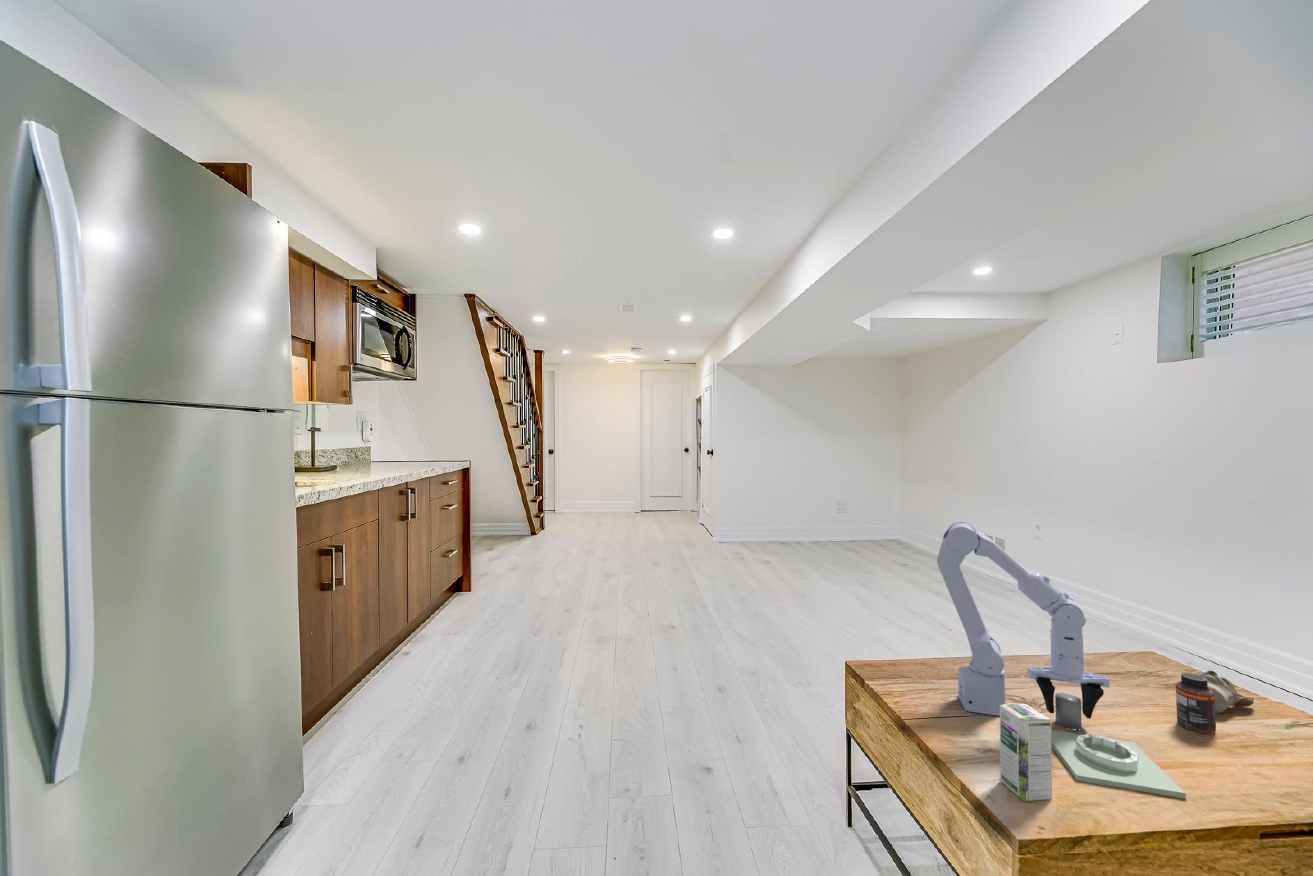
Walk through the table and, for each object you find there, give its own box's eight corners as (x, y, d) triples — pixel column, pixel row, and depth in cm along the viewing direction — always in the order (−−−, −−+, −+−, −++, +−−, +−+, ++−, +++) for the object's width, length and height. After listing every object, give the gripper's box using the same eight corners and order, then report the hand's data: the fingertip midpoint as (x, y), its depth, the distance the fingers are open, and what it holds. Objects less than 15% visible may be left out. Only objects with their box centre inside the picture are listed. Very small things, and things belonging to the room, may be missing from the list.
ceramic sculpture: (1169, 666, 122) (1194, 658, 128) (1169, 702, 121) (1194, 692, 128) (1234, 685, 112) (1258, 675, 119) (1233, 724, 112) (1257, 712, 119)
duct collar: (1090, 767, 96) (1089, 757, 96) (1068, 741, 105) (1068, 731, 105) (1149, 776, 94) (1148, 766, 94) (1122, 749, 102) (1122, 739, 102)
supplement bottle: (1206, 723, 112) (1205, 673, 113) (1222, 738, 107) (1221, 684, 107) (1171, 718, 115) (1169, 668, 115) (1185, 731, 110) (1183, 679, 110)
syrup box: (998, 781, 94) (997, 703, 95) (1028, 778, 95) (1026, 702, 95) (1023, 802, 89) (1021, 720, 89) (1054, 800, 89) (1052, 718, 89)
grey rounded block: (1060, 728, 111) (1060, 701, 111) (1051, 717, 116) (1051, 691, 116) (1085, 731, 110) (1084, 704, 110) (1075, 720, 114) (1074, 694, 115)
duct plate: (1076, 780, 94) (1076, 775, 94) (1042, 733, 109) (1042, 729, 109) (1185, 799, 89) (1185, 793, 89) (1133, 747, 104) (1133, 742, 104)
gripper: (1035, 656, 112) (1037, 717, 111) (1116, 665, 107) (1117, 728, 107) (1023, 644, 118) (1025, 702, 118) (1099, 651, 114) (1100, 712, 113)
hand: (1068, 713), depth 113 cm, fingers open, 6 cm apart
